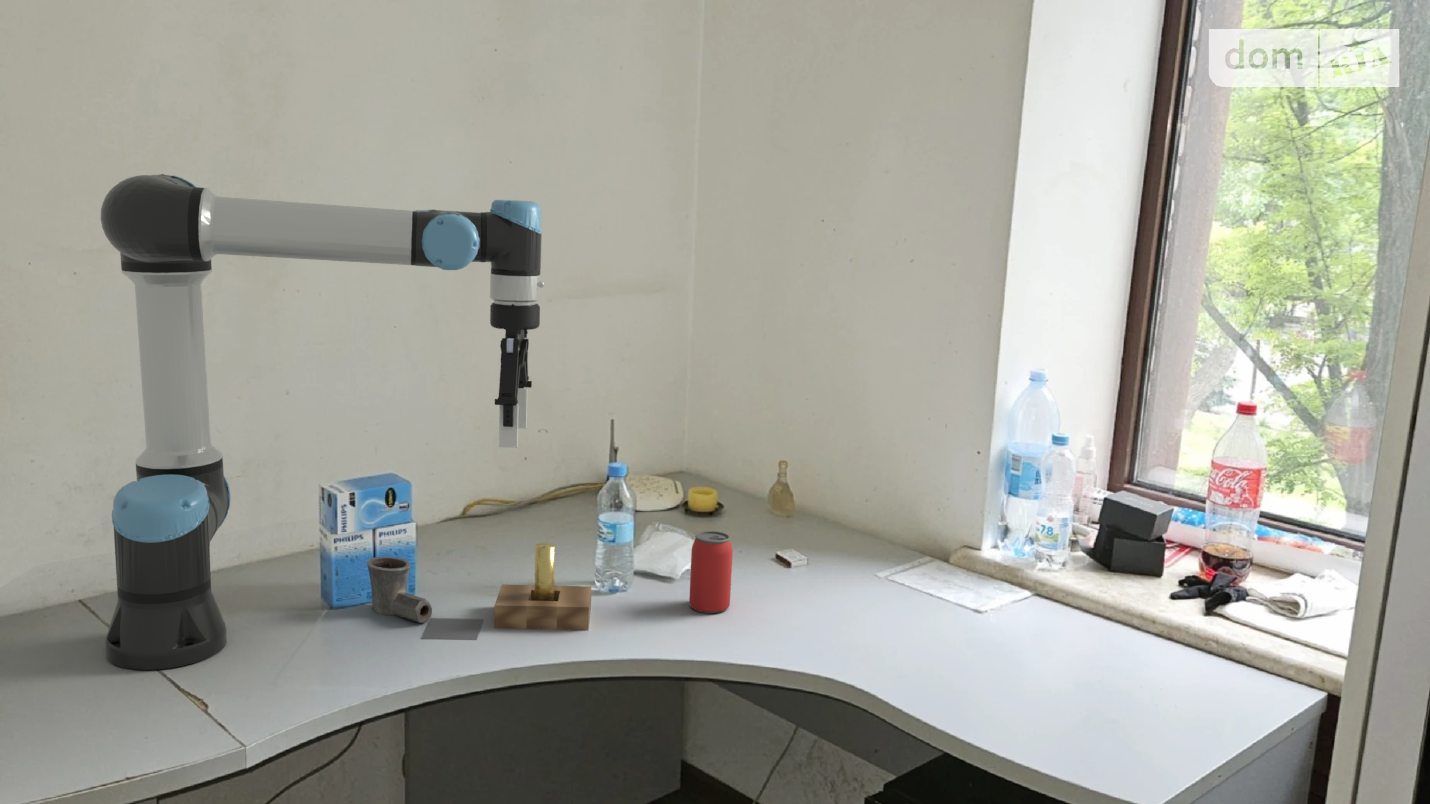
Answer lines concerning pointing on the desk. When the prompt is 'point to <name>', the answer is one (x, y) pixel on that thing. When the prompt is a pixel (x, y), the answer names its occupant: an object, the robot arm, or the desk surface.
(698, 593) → the beer can
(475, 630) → the mat
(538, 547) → the pin
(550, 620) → the socket block
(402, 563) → the pipe
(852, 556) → the desk surface
